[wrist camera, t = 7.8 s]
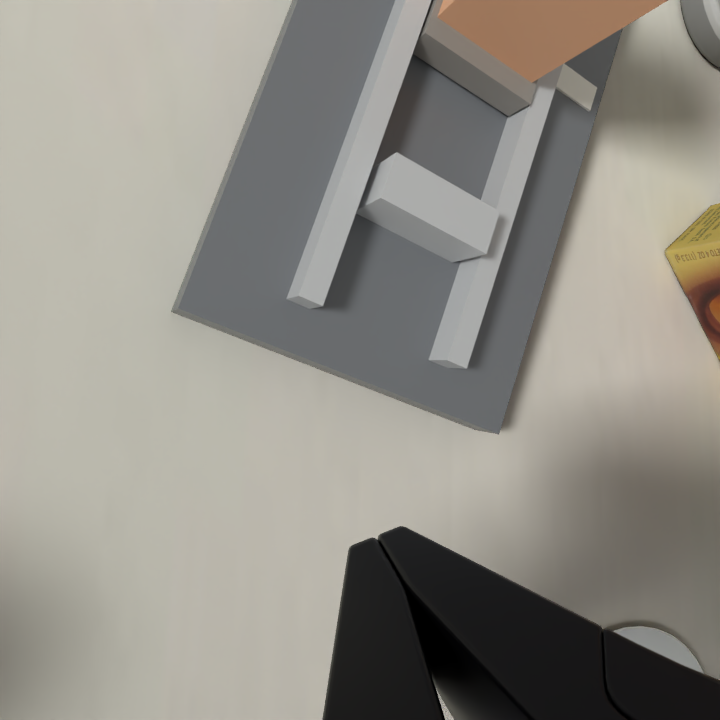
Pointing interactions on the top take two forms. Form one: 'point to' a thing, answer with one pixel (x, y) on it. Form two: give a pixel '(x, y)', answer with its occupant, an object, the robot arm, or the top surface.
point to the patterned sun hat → (661, 644)
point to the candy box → (701, 270)
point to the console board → (392, 211)
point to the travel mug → (704, 26)
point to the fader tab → (516, 41)
